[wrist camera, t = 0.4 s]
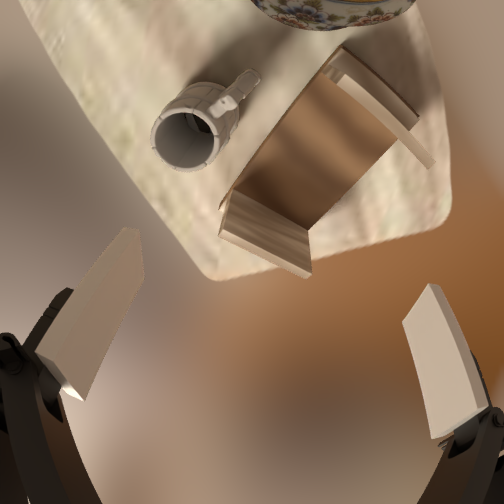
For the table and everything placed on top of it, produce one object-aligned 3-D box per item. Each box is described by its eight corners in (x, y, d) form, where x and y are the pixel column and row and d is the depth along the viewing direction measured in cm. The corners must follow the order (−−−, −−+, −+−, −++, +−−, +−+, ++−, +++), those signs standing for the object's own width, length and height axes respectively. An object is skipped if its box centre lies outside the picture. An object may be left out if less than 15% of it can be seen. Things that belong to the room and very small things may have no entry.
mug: (163, 110, 29) (116, 152, 20) (236, 43, 23) (214, 47, 14) (207, 151, 33) (180, 206, 24) (283, 91, 27) (287, 123, 18)
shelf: (339, 44, 22) (366, 49, 15) (414, 112, 26) (453, 143, 19) (220, 203, 38) (206, 251, 31) (290, 240, 42) (291, 290, 35)
